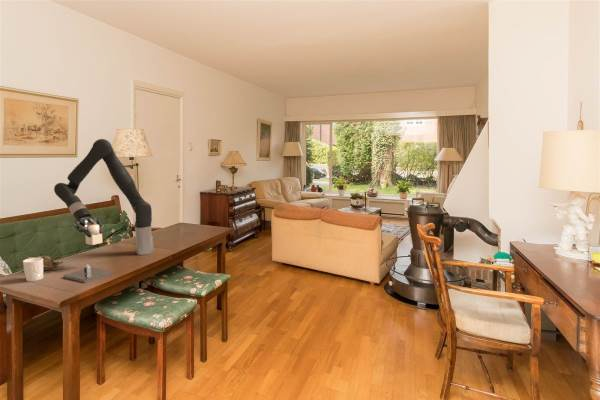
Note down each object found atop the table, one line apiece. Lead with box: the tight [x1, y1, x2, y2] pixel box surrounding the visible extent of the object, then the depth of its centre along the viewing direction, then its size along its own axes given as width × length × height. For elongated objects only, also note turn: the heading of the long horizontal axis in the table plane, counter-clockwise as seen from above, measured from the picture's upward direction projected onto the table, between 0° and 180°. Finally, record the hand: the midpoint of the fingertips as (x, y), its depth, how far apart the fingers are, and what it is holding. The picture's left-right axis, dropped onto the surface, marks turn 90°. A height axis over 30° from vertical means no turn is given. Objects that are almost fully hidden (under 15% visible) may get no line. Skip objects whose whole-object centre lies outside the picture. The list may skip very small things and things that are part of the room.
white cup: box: [22, 256, 44, 283], centre depth 166 cm, size 8×8×10 cm
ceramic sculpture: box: [26, 253, 64, 271], centre depth 181 cm, size 11×9×15 cm
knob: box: [85, 224, 103, 246], centre depth 184 cm, size 6×6×10 cm
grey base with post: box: [63, 263, 112, 284], centre depth 172 cm, size 14×16×6 cm
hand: (95, 235), depth 183 cm, fingers closed on knob, 5 cm apart
